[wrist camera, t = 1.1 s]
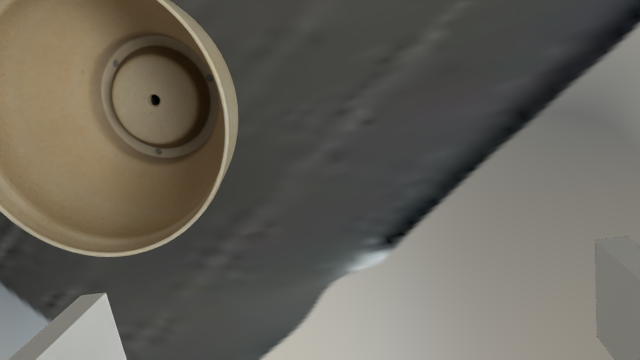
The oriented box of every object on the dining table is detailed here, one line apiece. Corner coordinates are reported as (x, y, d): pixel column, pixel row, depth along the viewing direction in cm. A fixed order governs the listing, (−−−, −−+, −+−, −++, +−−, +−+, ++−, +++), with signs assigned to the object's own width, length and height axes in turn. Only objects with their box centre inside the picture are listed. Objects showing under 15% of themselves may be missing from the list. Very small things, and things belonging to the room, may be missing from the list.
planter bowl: (71, 190, 40) (-35, 244, 30) (54, -21, 35) (-78, -46, 25) (264, 209, 39) (225, 272, 28) (272, -7, 34) (229, -27, 24)
